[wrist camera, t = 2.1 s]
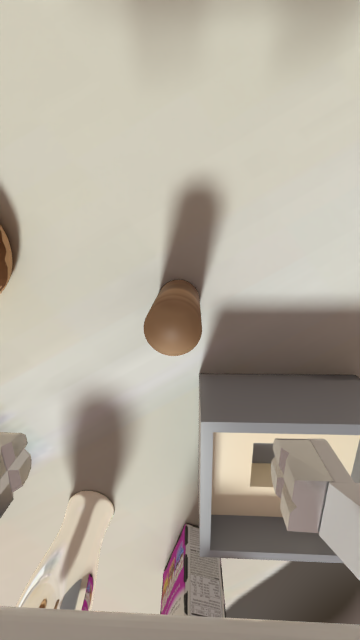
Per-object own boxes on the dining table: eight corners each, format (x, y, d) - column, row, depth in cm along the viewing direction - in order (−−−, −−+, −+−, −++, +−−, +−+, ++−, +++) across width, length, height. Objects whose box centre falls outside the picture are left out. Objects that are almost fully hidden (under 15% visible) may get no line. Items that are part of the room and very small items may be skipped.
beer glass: (99, 480, 34) (32, 659, 20) (127, 517, 36) (84, 704, 22) (55, 497, 36) (-38, 676, 21) (84, 531, 37) (17, 717, 23)
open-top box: (199, 373, 29) (200, 421, 22) (355, 375, 28) (410, 425, 21) (198, 487, 34) (199, 556, 27) (330, 491, 33) (368, 564, 26)
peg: (157, 279, 26) (142, 301, 18) (199, 279, 26) (202, 301, 18) (159, 319, 27) (145, 355, 19) (199, 319, 27) (201, 356, 19)
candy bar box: (195, 580, 40) (196, 807, 24) (162, 572, 39) (142, 796, 24) (221, 530, 36) (242, 758, 21) (185, 520, 36) (178, 744, 20)
